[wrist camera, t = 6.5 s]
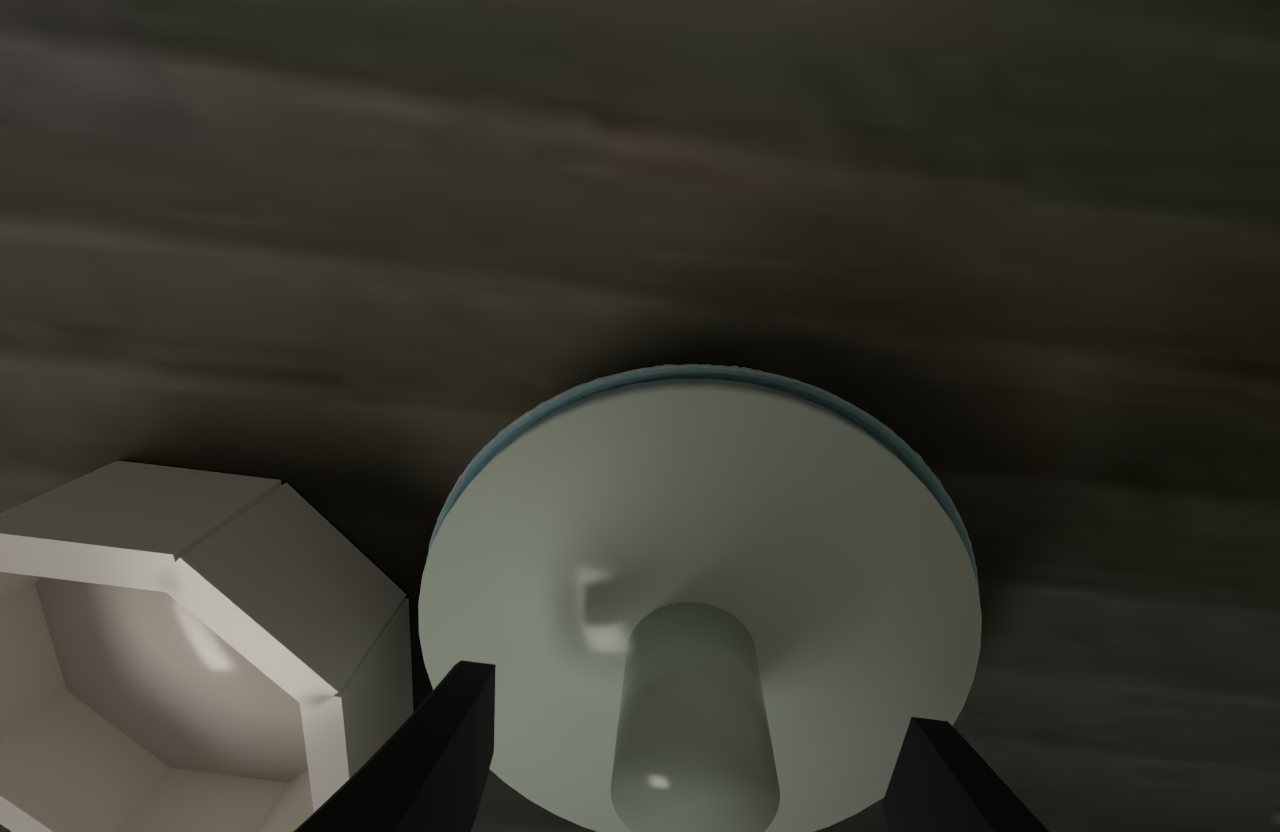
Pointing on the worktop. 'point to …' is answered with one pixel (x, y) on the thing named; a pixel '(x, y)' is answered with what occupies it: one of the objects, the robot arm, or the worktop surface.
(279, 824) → the bowl
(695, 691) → the lid
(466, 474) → the saucer
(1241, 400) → the worktop surface
